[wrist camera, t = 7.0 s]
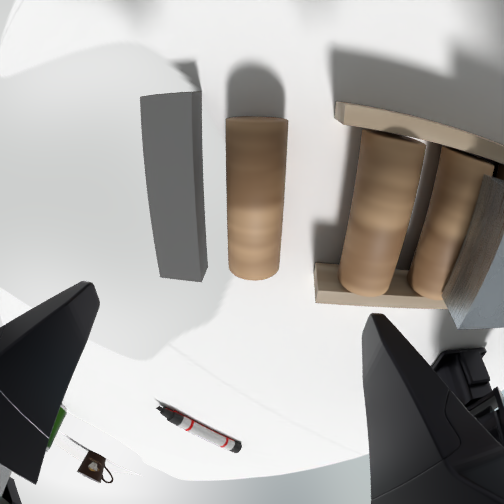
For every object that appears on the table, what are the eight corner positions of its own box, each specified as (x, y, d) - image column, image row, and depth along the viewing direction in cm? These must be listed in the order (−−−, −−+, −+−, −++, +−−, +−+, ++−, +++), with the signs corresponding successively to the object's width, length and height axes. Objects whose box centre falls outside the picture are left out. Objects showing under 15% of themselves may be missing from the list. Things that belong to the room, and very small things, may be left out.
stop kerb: (207, 266, 21) (201, 282, 20) (169, 262, 21) (160, 277, 20) (201, 91, 15) (191, 92, 13) (153, 94, 15) (140, 96, 13)
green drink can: (72, 412, 47) (52, 454, 37) (60, 409, 49) (41, 449, 39) (54, 397, 45) (32, 441, 35) (44, 395, 47) (23, 435, 36)
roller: (235, 115, 16) (217, 121, 13) (291, 118, 15) (284, 124, 12) (236, 249, 20) (222, 275, 18) (282, 255, 20) (274, 283, 17)
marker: (242, 441, 39) (240, 452, 38) (234, 443, 40) (232, 453, 38) (162, 399, 34) (157, 411, 33) (155, 402, 35) (150, 413, 34)
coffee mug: (82, 447, 70) (73, 469, 62) (93, 450, 67) (84, 474, 59) (107, 462, 75) (99, 483, 67) (119, 465, 72) (112, 488, 63)
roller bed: (519, 288, 18) (537, 313, 15) (313, 274, 20) (316, 309, 17) (561, 173, 12) (588, 191, 9) (335, 101, 14) (348, 104, 11)
